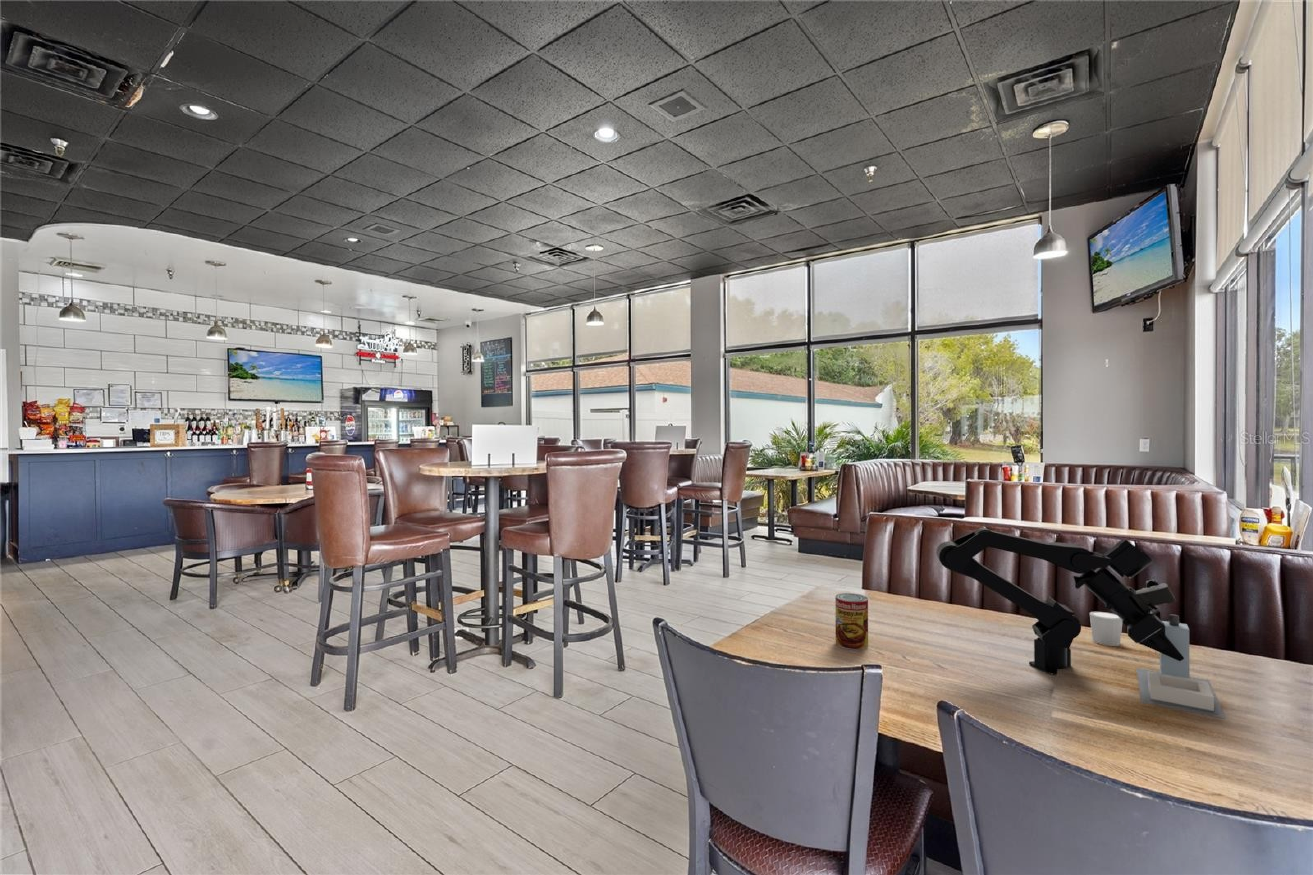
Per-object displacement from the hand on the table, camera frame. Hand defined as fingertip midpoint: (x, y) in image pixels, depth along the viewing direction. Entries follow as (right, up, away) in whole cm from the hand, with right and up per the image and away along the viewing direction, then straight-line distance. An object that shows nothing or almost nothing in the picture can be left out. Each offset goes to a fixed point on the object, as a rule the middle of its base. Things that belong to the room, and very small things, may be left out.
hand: (1179, 653), depth 125 cm
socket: (-7, -6, -8) cm, 12 cm away
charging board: (-4, -7, -4) cm, 9 cm away
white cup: (+6, -8, +29) cm, 30 cm away
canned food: (-59, -8, +27) cm, 66 cm away
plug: (-1, -6, 0) cm, 6 cm away
